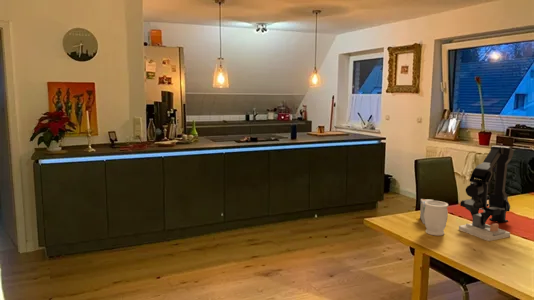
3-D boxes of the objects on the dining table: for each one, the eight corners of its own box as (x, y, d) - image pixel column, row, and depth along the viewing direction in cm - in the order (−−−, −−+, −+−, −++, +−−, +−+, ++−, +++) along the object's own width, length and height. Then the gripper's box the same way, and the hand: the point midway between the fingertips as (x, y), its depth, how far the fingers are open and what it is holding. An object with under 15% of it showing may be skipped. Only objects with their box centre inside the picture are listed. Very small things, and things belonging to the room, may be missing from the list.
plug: (477, 226, 205) (478, 213, 204) (484, 229, 201) (485, 215, 200) (472, 227, 203) (472, 214, 202) (478, 230, 199) (479, 216, 198)
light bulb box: (436, 224, 212) (437, 204, 211) (422, 224, 214) (423, 204, 212) (432, 218, 223) (433, 199, 221) (419, 217, 224) (420, 198, 222)
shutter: (492, 228, 198) (493, 221, 198) (505, 233, 192) (505, 225, 192) (482, 230, 196) (483, 223, 195) (495, 235, 190) (495, 227, 189)
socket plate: (479, 225, 210) (479, 219, 209) (509, 236, 194) (510, 230, 194) (458, 229, 205) (459, 223, 204) (488, 241, 189) (489, 234, 189)
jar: (445, 230, 204) (447, 201, 201) (447, 237, 194) (449, 207, 192) (422, 228, 207) (424, 199, 205) (423, 235, 197) (424, 205, 195)
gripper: (453, 190, 205) (451, 220, 207) (485, 200, 188) (483, 232, 190) (469, 188, 209) (467, 217, 211) (502, 197, 192) (500, 229, 194)
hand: (478, 224), depth 202 cm, fingers closed on plug, 4 cm apart
